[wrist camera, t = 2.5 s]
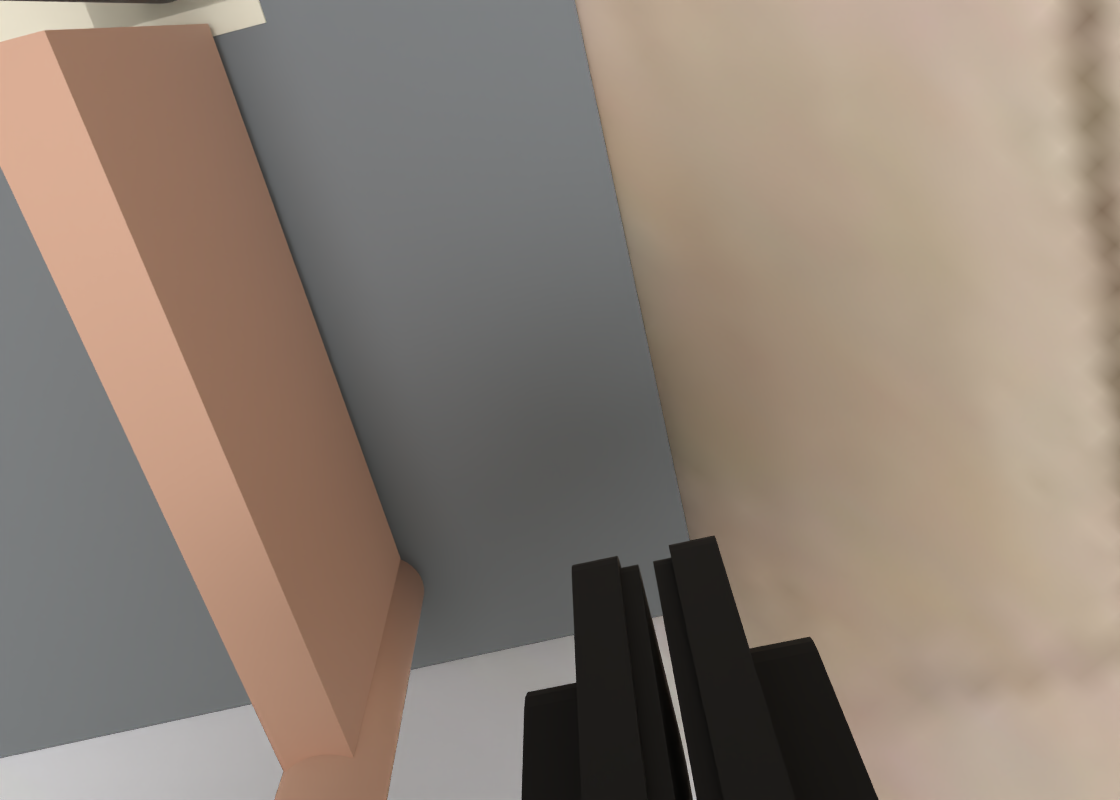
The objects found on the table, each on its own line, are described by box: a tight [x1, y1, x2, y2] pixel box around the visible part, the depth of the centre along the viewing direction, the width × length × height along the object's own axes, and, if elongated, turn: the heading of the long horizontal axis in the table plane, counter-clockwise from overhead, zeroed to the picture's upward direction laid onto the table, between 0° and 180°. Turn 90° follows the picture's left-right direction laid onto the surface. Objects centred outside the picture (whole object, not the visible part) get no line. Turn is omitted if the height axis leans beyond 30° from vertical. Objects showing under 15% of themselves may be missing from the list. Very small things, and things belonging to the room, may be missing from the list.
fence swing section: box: [0, 24, 424, 800], centre depth 16 cm, size 13×2×7 cm, turn 13°
